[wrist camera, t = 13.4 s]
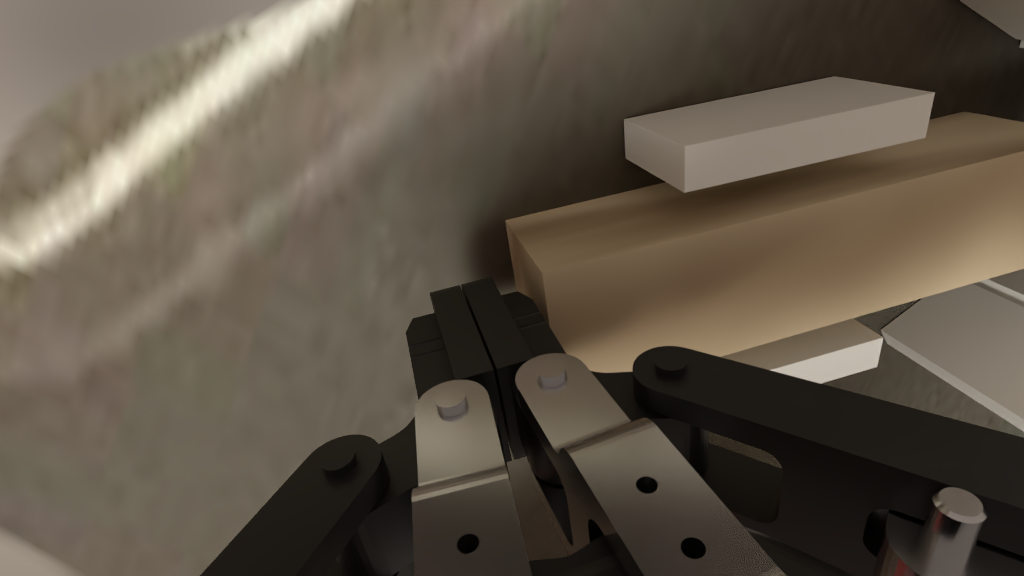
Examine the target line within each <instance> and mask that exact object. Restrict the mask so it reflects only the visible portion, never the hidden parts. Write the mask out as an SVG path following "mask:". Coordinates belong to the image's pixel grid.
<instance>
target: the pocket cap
mask: <svg viewBox="0 0 1024 576" xmlns="http://www.w3.org/2000/svg"><path fill="white" fill-rule="evenodd" d="M959 1H961V2H962V3H964V4H965V5H967V6H968V7H969V8H971V9H972V10H974V11H975V12H977V13H978V14H980V15H981V16H983V17H984V18H986V19H987V20H988V21H990V22H991V23H993V24H994V25H996V26H997V27H999V28H1000V29H1002V30H1003V31H1004V32H1006V33H1007V34H1009V35H1010V36H1012V37H1013V38H1015V39H1020V40H1021V43H1020V46H1019V48H1024V0H959ZM881 332H882V334H883V336H884V338H885V341H886V343H887V344H888V345H890V346H892V347H893V348H895V349H896V350H898V351H899V352H901V353H902V354H904V355H906V356H907V357H909V358H910V359H912V360H913V361H915V362H916V363H918V364H920V365H921V366H923V367H924V368H926V369H927V370H929V371H930V372H932V373H934V374H935V375H937V376H938V377H940V378H941V379H943V380H944V381H946V382H947V383H949V384H951V385H952V386H954V387H955V388H957V389H958V390H960V391H961V392H963V393H965V394H966V395H968V396H969V397H971V398H972V399H974V400H975V401H977V402H979V403H980V404H982V405H983V406H985V407H986V408H988V409H989V410H991V411H993V412H994V413H996V414H997V415H999V416H1000V417H1002V418H1003V419H1005V420H1007V421H1008V422H1010V423H1011V424H1013V425H1014V426H1016V427H1017V428H1019V429H1021V430H1022V431H1024V269H1021V270H1017V271H1014V272H1011V273H1007V274H1004V275H1000V276H997V277H993V278H990V279H986V280H983V281H980V282H976V283H973V284H969V285H966V286H962V287H959V288H955V289H952V290H949V291H945V292H942V293H938V294H935V295H931V296H928V297H924V298H922V299H921V300H920V301H918V302H917V303H916V304H914V305H913V306H912V307H910V308H909V309H908V310H906V311H905V312H904V313H902V314H901V315H900V316H898V317H897V318H896V319H894V320H893V321H892V322H890V323H889V324H888V325H887V326H885V327H884V328H883V329H881Z"/></svg>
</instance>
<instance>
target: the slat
mask: <svg viewBox="0 0 1024 576" xmlns="http://www.w3.org/2000/svg"><path fill="white" fill-rule="evenodd" d="M505 223H506V229H507V235H508V241H509V247H510V253H511V259H512V265H513V271H514V277H515V283H516V289H517V291H518V292H520V293H522V294H524V295H526V296H527V297H529V298H531V299H533V301H534V302H535V304H536V306H537V307H538V309H539V311H540V313H541V314H542V315H543V317H544V319H545V320H546V323H548V325H549V327H550V328H551V330H552V331H553V333H554V335H555V336H556V338H557V340H558V341H559V343H560V344H561V346H562V348H563V349H564V351H565V352H566V354H568V355H571V356H574V357H576V358H578V359H580V360H581V361H582V362H583V363H584V364H585V365H586V366H587V367H588V369H589V370H590V371H594V372H601V373H615V372H632V369H633V363H634V361H635V359H636V358H637V357H638V356H639V355H640V354H642V353H643V352H645V351H647V350H649V349H652V348H655V347H660V346H679V347H684V348H688V349H692V350H696V351H699V352H703V353H707V354H711V355H714V356H718V357H721V356H725V355H728V354H732V353H735V352H739V351H742V350H745V349H749V348H752V347H756V346H759V345H763V344H766V343H770V342H773V341H776V340H780V339H783V338H787V337H790V336H794V335H797V334H801V333H804V332H807V331H811V330H814V329H818V328H821V327H825V326H828V325H832V324H835V323H838V322H842V321H845V320H849V319H852V318H856V317H859V316H863V315H866V314H869V313H873V312H876V311H880V310H883V309H887V308H890V307H893V306H897V305H900V304H904V303H907V302H911V301H914V300H918V299H921V298H924V297H928V296H931V295H935V294H938V293H942V292H945V291H949V290H952V289H955V288H959V287H962V286H966V285H969V284H973V283H976V282H980V281H983V280H986V279H990V278H993V277H997V276H1000V275H1004V274H1007V273H1011V272H1014V271H1017V270H1021V269H1024V122H1020V121H1014V120H1009V119H1003V118H998V117H992V116H987V115H981V114H976V113H970V112H965V111H964V112H960V113H956V114H952V115H947V116H943V117H939V118H935V119H930V120H929V124H928V128H927V133H926V138H922V139H918V140H913V141H909V142H905V143H900V144H896V145H892V146H887V147H883V148H878V149H874V150H870V151H865V152H861V153H857V154H852V155H848V156H844V157H839V158H835V159H830V160H826V161H822V162H817V163H813V164H809V165H804V166H800V167H795V168H791V169H787V170H782V171H778V172H774V173H769V174H765V175H760V176H756V177H752V178H747V179H743V180H739V181H734V182H730V183H725V184H721V185H717V186H712V187H708V188H704V189H699V190H695V191H690V192H686V193H684V192H682V191H680V190H679V189H677V188H675V187H674V186H672V185H670V184H668V183H667V182H665V183H660V184H656V185H652V186H648V187H643V188H639V189H635V190H631V191H627V192H622V193H618V194H614V195H610V196H605V197H601V198H597V199H593V200H589V201H584V202H580V203H576V204H572V205H567V206H563V207H559V208H555V209H551V210H546V211H542V212H538V213H534V214H529V215H525V216H521V217H517V218H513V219H508V220H505Z"/></svg>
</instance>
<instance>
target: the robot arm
mask: <svg viewBox="0 0 1024 576" xmlns="http://www.w3.org/2000/svg"><path fill="white" fill-rule="evenodd" d="M461 287H462V290H461ZM461 287H460V285H458V286H454V287H450V288H447V289H443V290H439V291H435V292H431V293H430V297H431V301H432V305H433V309H434V313H433V314H429V315H425V316H421V317H417V318H413V319H412V321H411V323H410V325H409V327H408V329H407V331H406V336H407V341H408V346H409V352H410V357H411V362H412V368H413V373H414V378H415V384H416V389H417V394H418V402H417V404H416V407H415V417H414V418H413V420H412V421H411V422H410V423H409V424H408V425H407V426H406V427H405V428H404V429H403V430H402V431H400V432H399V433H398V434H396V435H394V436H393V437H391V438H389V439H387V440H386V441H384V442H382V443H380V444H378V443H377V442H376V441H375V440H374V439H372V438H370V437H368V436H365V435H347V436H342V437H339V438H336V439H333V440H331V441H329V442H327V443H325V444H323V445H322V446H320V447H319V448H317V449H316V450H315V451H314V452H313V453H312V454H311V455H309V456H308V458H307V459H306V460H305V461H304V462H303V463H302V464H301V465H300V466H299V467H298V469H297V470H296V471H295V472H294V473H293V474H292V475H291V476H290V477H289V478H288V480H287V481H286V482H285V483H284V484H283V485H282V486H281V487H280V488H279V489H278V491H277V492H276V493H275V494H274V495H273V496H272V497H271V498H270V499H269V500H268V502H267V503H266V504H265V505H264V506H263V507H262V508H261V509H260V510H259V511H258V513H257V514H256V515H255V516H254V517H253V518H252V519H251V520H250V521H249V522H248V524H247V525H246V526H245V527H244V528H243V529H242V530H241V531H240V532H239V533H238V535H237V536H236V537H235V538H234V539H233V540H232V541H231V542H230V543H229V544H228V546H227V547H226V548H225V549H224V550H223V551H222V552H221V553H220V554H219V555H218V557H217V558H216V559H215V560H214V561H213V562H212V563H211V564H210V565H209V566H208V568H207V569H206V570H205V571H204V572H203V573H202V574H201V575H200V576H414V575H415V576H1024V438H1022V437H1019V436H1015V435H1011V434H1007V433H1004V432H1000V431H996V430H992V429H989V428H985V427H981V426H977V425H973V424H970V423H966V422H962V421H958V420H955V419H951V418H947V417H943V416H940V415H936V414H932V413H928V412H925V411H921V410H917V409H913V408H910V407H906V406H902V405H898V404H895V403H891V402H887V401H883V400H880V399H876V398H872V397H868V396H865V395H861V394H857V393H853V392H850V391H846V390H842V389H838V388H835V387H831V386H827V385H823V384H820V383H816V382H812V381H808V380H805V379H801V378H797V377H793V376H790V375H786V374H782V373H778V372H775V371H771V370H767V369H763V368H760V367H756V366H752V365H748V364H744V363H741V362H737V361H733V360H729V359H726V358H722V357H718V356H714V355H711V354H707V353H703V352H699V351H696V350H692V349H688V348H684V347H679V346H660V347H655V348H652V349H649V350H647V351H645V352H643V353H642V354H640V355H639V356H638V357H637V358H636V359H635V361H634V363H633V369H632V372H615V373H601V372H594V371H590V370H589V369H588V367H587V366H586V365H585V364H584V363H583V362H582V361H581V360H580V359H578V358H576V357H574V356H571V355H568V354H566V352H565V351H564V349H563V348H562V346H561V344H560V343H559V341H558V340H557V338H556V336H555V335H554V333H553V331H552V330H551V328H550V327H549V325H548V323H546V320H545V319H544V317H543V315H542V314H541V313H540V311H539V309H538V307H537V306H536V304H535V302H534V301H533V299H531V298H529V297H527V296H526V295H524V294H522V293H520V292H518V291H517V292H513V293H509V294H505V295H501V294H500V292H499V291H498V289H497V287H496V285H495V283H494V281H493V279H492V278H491V277H489V278H485V279H482V280H478V281H474V282H470V283H466V284H462V285H461ZM709 431H710V432H713V433H716V434H719V435H721V436H724V437H727V438H730V439H733V440H736V441H739V442H742V443H745V444H748V445H750V446H753V447H756V448H759V449H762V450H764V451H766V452H768V453H770V454H771V455H773V456H774V457H775V458H776V459H777V460H778V461H779V462H780V464H781V466H782V468H783V469H781V468H778V467H775V466H772V465H769V464H766V463H764V462H761V461H758V460H755V459H752V458H750V457H747V456H744V455H741V454H738V453H736V452H733V451H730V450H727V449H725V448H722V447H719V446H716V445H713V444H711V443H708V441H709ZM508 443H509V444H508ZM509 446H510V448H511V451H512V454H513V457H514V459H519V458H522V457H525V456H527V459H528V461H529V464H530V466H531V471H532V477H533V482H534V486H535V489H536V491H537V493H538V495H539V497H540V499H541V501H542V503H543V505H544V507H545V509H546V511H547V513H548V515H549V517H550V519H551V521H552V523H553V525H554V527H555V529H556V531H557V533H558V535H559V537H560V539H561V541H562V543H563V545H564V547H565V549H566V551H567V553H568V555H569V556H567V557H563V558H555V559H544V560H533V561H529V560H528V556H527V552H526V548H525V544H524V539H523V535H522V531H521V527H520V522H519V518H518V514H517V510H516V506H515V501H514V497H513V493H512V489H511V485H510V477H509V472H508V468H507V463H506V462H509V461H512V459H511V454H510V449H509Z"/></svg>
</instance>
